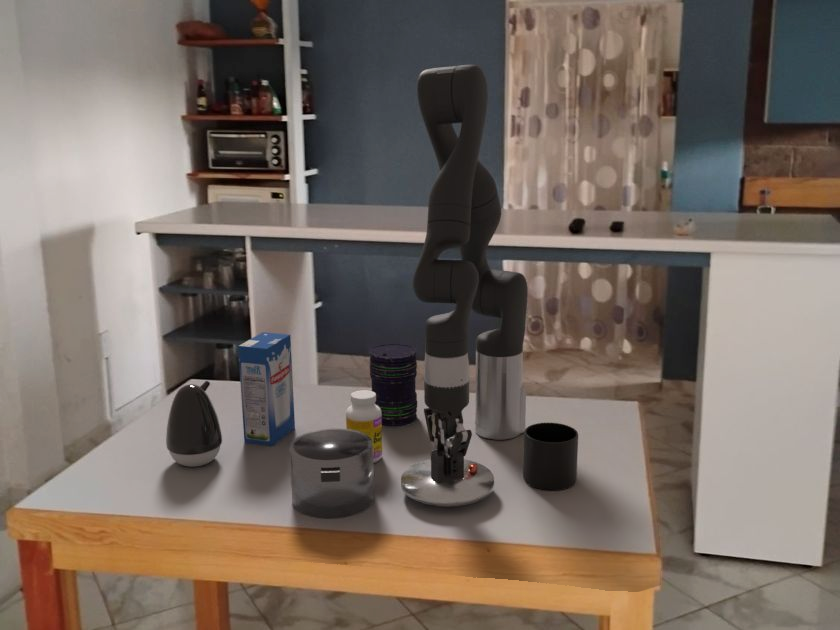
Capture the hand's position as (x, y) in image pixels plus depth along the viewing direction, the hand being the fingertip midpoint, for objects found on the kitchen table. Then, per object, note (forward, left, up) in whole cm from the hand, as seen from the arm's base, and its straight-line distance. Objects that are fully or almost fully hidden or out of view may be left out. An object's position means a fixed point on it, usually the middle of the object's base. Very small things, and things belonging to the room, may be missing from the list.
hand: (447, 472), depth 152 cm
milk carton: (+20, -39, -4) cm, 44 cm away
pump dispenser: (+36, -33, -4) cm, 49 cm away
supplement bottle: (+7, -20, -4) cm, 22 cm away
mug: (-20, +2, -4) cm, 20 cm away
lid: (0, 0, -2) cm, 2 cm away
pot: (+18, -7, -4) cm, 20 cm away
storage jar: (-6, -36, -4) cm, 37 cm away
